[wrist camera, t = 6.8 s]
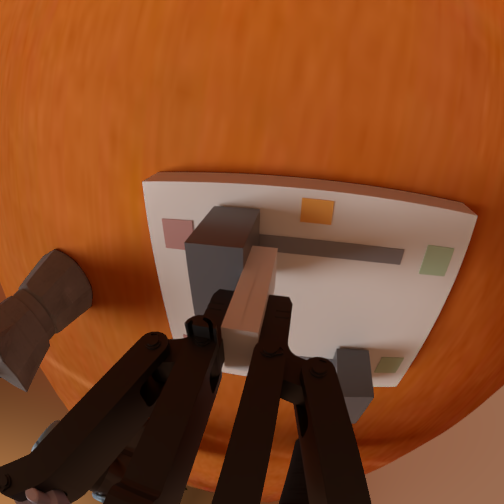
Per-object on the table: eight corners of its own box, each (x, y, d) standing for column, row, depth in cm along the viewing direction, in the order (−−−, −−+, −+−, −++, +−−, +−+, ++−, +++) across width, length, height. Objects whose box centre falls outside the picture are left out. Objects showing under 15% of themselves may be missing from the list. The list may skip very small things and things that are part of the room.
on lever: (325, 379, 25) (323, 422, 21) (336, 348, 23) (337, 396, 18) (353, 381, 25) (355, 423, 20) (368, 350, 22) (373, 397, 18)
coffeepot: (55, 223, 25) (-59, 323, 10) (110, 281, 28) (12, 407, 13) (36, 285, 33) (-35, 363, 17) (77, 327, 35) (15, 415, 20)
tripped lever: (217, 270, 21) (194, 315, 16) (213, 205, 18) (184, 242, 14) (258, 274, 20) (243, 323, 16) (259, 209, 18) (243, 248, 13)
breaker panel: (187, 346, 31) (179, 363, 28) (158, 172, 20) (141, 181, 18) (393, 369, 27) (396, 387, 25) (462, 202, 17) (478, 216, 15)
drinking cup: (311, 430, 37) (295, 541, 21) (338, 441, 39) (329, 540, 22) (278, 439, 41) (259, 537, 24) (306, 450, 43) (293, 540, 26)
